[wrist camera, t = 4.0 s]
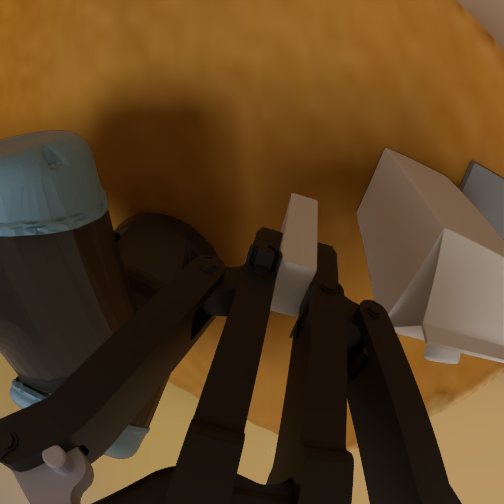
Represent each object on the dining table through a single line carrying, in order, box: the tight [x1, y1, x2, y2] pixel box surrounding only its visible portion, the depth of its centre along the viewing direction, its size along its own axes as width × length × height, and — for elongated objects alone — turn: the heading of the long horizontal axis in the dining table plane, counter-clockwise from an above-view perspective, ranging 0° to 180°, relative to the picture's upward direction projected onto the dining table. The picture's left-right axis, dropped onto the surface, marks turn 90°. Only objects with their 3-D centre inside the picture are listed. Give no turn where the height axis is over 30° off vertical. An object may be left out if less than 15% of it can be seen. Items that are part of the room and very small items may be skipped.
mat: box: [459, 160, 504, 240], centre depth 26 cm, size 14×12×1 cm
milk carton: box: [356, 148, 504, 364], centre depth 19 cm, size 7×7×19 cm
